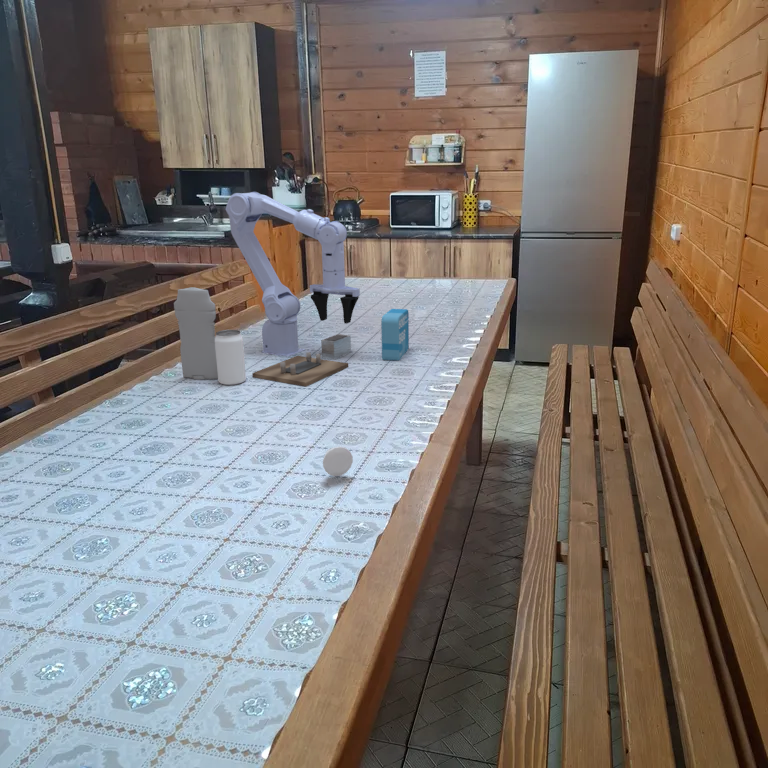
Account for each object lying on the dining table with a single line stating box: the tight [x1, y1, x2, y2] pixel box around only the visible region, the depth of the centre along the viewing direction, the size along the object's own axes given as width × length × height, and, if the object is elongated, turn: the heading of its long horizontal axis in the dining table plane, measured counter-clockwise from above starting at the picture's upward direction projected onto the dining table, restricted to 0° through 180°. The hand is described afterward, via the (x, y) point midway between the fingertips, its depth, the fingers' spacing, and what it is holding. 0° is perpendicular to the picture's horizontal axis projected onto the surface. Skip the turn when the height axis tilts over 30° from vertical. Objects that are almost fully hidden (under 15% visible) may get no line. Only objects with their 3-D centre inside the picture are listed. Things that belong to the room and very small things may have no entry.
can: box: [215, 329, 247, 386], centre depth 158 cm, size 6×6×12 cm
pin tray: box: [252, 351, 349, 387], centre depth 166 cm, size 16×18×4 cm
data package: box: [380, 308, 410, 362], centre depth 178 cm, size 12×4×12 cm, turn 165°
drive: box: [320, 333, 352, 361], centre depth 181 cm, size 4×8×5 cm, turn 150°
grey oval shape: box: [322, 446, 354, 477], centre depth 111 cm, size 5×3×5 cm, turn 113°
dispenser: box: [173, 286, 218, 381], centre depth 160 cm, size 11×4×22 cm, turn 77°
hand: (335, 321), depth 178 cm, fingers open, 7 cm apart
